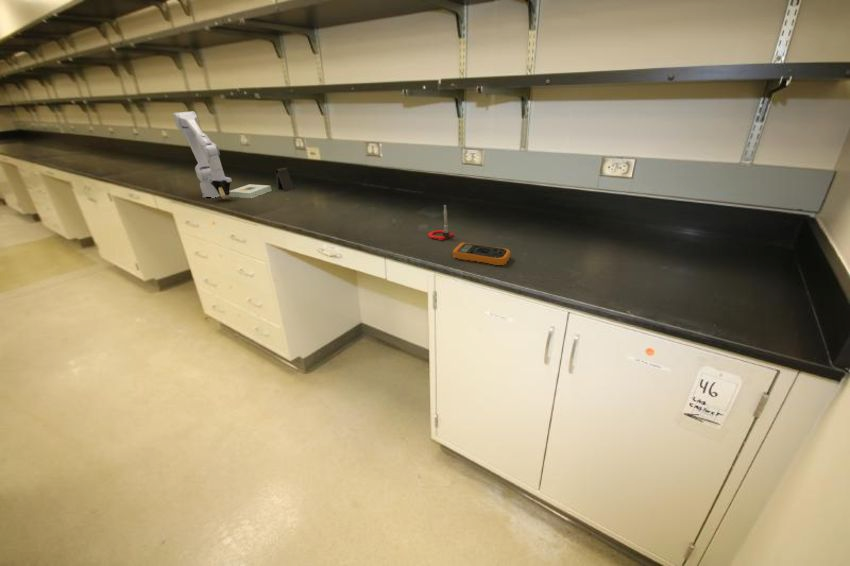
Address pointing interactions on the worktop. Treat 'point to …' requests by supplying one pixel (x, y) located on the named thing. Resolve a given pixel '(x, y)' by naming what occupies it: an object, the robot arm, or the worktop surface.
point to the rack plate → (250, 191)
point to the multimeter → (482, 253)
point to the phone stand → (283, 180)
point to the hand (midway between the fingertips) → (224, 194)
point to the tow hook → (445, 232)
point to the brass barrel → (222, 193)
